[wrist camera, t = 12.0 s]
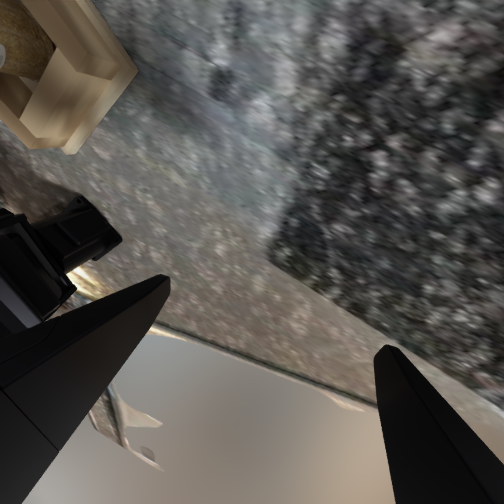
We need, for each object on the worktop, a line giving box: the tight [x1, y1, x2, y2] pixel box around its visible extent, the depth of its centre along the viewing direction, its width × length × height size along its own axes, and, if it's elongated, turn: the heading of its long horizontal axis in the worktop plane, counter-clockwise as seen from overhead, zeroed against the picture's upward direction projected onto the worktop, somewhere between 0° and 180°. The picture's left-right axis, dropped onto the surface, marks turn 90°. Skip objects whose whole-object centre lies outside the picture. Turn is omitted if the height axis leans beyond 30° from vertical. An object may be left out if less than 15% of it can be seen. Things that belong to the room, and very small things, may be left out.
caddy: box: [0, 0, 139, 155], centre depth 15 cm, size 11×11×4 cm
